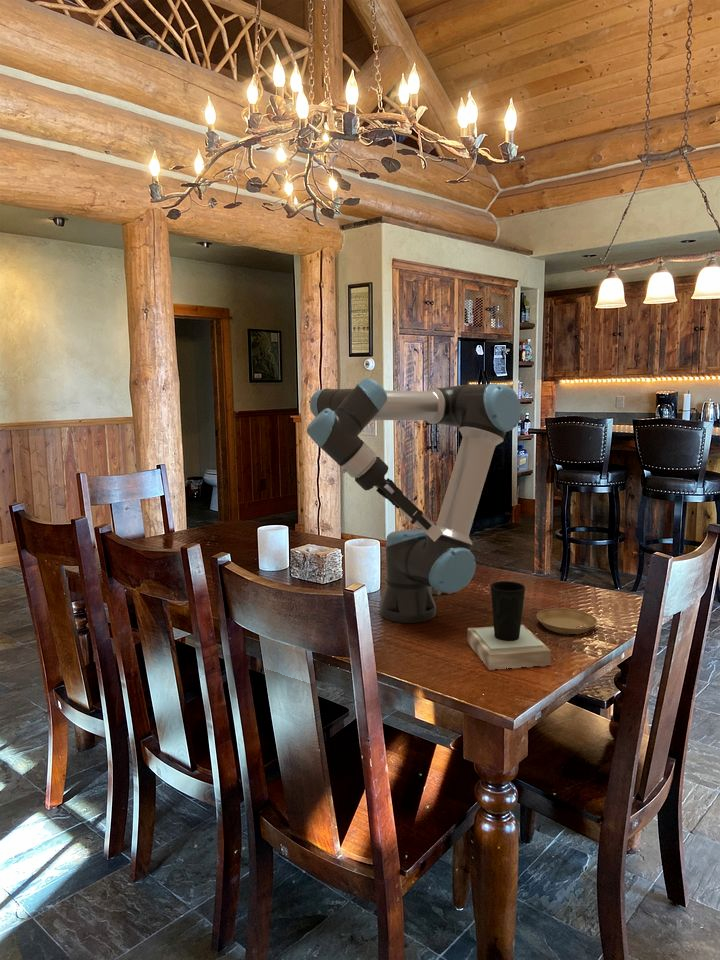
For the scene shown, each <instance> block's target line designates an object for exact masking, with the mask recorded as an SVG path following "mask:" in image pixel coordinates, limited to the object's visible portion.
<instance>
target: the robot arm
mask: <svg viewBox="0 0 720 960" xmlns="http://www.w3.org/2000/svg"><path fill="white" fill-rule="evenodd" d="M309 407H310V411H311V413H312V415H313V416H314V419H312V420H311V422H309V424H308V425H307V427H306V433H307V435H308V436H309V437H310V439H311V440H312V441H313V442H314V443H315V444H316V445H317V446H318V448H321V450H322V451H324V453H325V454H326V455H328V456H329V457H330V458H331V460H333V461H335V463H336V464H337V465H338V466H340V467H341V468H342V469H341V473H342V474H346V473H347V474H348V476H350V478H354V482H356V483H357V485H359V487H360V488H362V489H363V490H364V491H370V490H371V489H374V487H375V488H377V489H376V492H377V493H378V494H379V495H380V496H382V497H383V498H384V499H386V500H387V501H388V502H390V503H391V505H392V506H395V508H396V509H398V510H399V512H400V513H401V514H403V516H404V517H405V518H407V520H408V521H410V523H411V524H412V525H413V526H415V527H416V528H414V529H412V528H411V529H402V530H396V531H392V532H389V533H388V534H387V536H386V538H385V539H386V543H385V556H386V557H385V561H386V562H385V565H386V567H385V568H386V573H385V575H386V579H385V581H386V584H385V585H386V587H385V590H384V593H383V596H382V599H381V601H380V602H381V603H380V604H379V605H380V607H379V614H381V615H380V616H381V617H382V618H384V619H386V620H387V621H390V622H393V623H394V622H395V623H401V624H403V623H404V624H416V623H417V624H418V623H423V622H424V623H425V622H426V621H429V620H432V619H434V618H435V617H436V614H437V609H436V608H437V605H436V603H435V600H434V597H433V594H432V593H431V590H430V587H432V588H434V589H435V590H439V591H444V592H448V593H451V594H452V593H456V592H457V593H458V592H460V591H461V590H462V589H464V588H465V587H467V586H468V585H469V584H470V582H471V581H472V579H473V577H474V575H475V573H476V569H477V568H476V565H477V562H476V561H475V559H476V558H475V555H474V553H472V552H471V551H472V547H473V542H472V540H471V538H470V533H471V529H472V526H473V523H474V519H475V515H476V512H477V509H478V505H479V503H480V499H481V495H482V491H483V490H484V489H483V488H484V485H485V482H486V479H487V475H488V472H489V469H490V466H491V462H492V459H493V455H494V451H495V449H496V447H497V446H498V445H500V444H501V443H503V442H504V441H505V440H504V439H505V437H506V433H507V432H510V431H513V429H514V428H516V427H517V426H518V424H519V422H520V420H521V416H522V405H521V401H520V400H519V395H518V394H517V392H516V391H515V390H514V389H513V388H511V386H509V385H505V384H500V383H489V384H487V383H486V384H483V383H481V384H462V385H461V384H459V385H453V386H447V387H430V388H429V389H427V390H426V391H425V390H424V391H422V390H421V391H420V390H419V391H417V390H416V391H415V390H385V388H384V387H383V386H382V385H381V384H380V383H379V382H377V380H374V379H372V378H368V377H365V378H363V379H362V380H361V381H360V382H359V383H357V384H356V386H355V387H354V388H324V389H319V390H316V391H315V392H314V393H313V394H312V395H311V398H310V401H309ZM371 421H426V422H427V423H428V424H431V425H443V426H450V427H456V428H458V430H459V432H460V434H461V436H462V439H461V442H460V444H459V445H460V446H459V449H458V452H457V454H456V458H455V462H454V465H453V467H452V468H453V469H452V472H451V475H450V478H449V481H448V484H447V488H446V491H445V495H444V498H443V501H442V503H441V508H440V511H439V515H438V518H437V522H436V524H435V523H434V522H432V520H430V518H429V517H428V516H427V515H426V514H425V513H424V512H423V511H422V510H421V509H420V508H418V507H417V505H415V504H414V503H413V502H412V501H411V500H410V499H409V498H408V497H407V496H406V495H405V494H404V493H403V491H402V490H401V489H400V488H399V487H398V486H397V484H396V483H395V482H394V481H393V480H392V479H390V478H389V477H388V478H385V475H387V474H388V471H389V466H388V465H387V464H386V463H385V461H383V459H381V457H379V456H376V452H375V451H374V450H373V449H372V448H371V447H370V446H368V445H367V443H366V442H364V441H363V440H362V439H361V438H360V437H359V435H360V433H362V431H363V430H364V429H365V428H366V426H368V425H369V423H370V422H371Z"/></svg>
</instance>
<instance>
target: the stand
mask: <svg viewBox="0 0 720 960" xmlns="http://www.w3.org/2000/svg"><path fill="white" fill-rule="evenodd" d="M466 638H467V641H466V642H467V644H468V645H469V646H470V647H471V649H472V650H473V651H474V652H475V654H476V655H477V657H478V658H479V659H480V661H481V662H482V661H483V662H482V663H483V664H484V666H485V667H486V669H488V670H489V671H496V670H495V669H498V670H509V669H508V668H512V669H522V668H521V667H527V668H534V667H533V666H541V667H544V666H543V665H551V663H552V662H551V661H552V660H551V659H552V650H551V649H550V648H549V647H548V646H547V645H546V644H545V643H544V642H542V641H541V640H540V639H539V638H538V637H537V636H536V635H535V634H534V633H533V632H531V631H530V630H529V629H528V628H527V626H526V625H524V624H521V627H520V635H519V639H518V640H515V641H503V640H499V639H497V638H495V636H494V626H483V627H468V628H467V637H466ZM506 668H507V669H506Z"/></svg>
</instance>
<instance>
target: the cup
mask: <svg viewBox="0 0 720 960" xmlns="http://www.w3.org/2000/svg"><path fill="white" fill-rule="evenodd" d="M525 593H526V586H525V585H524V584H523V583H520V582H517V581H516V582H515V581H507V580H504V581H503V580H502V581H501V580H500V581H495V582H493V583H491V585H490V596H491V604H492V605H491V608H492V619H493V620H492V621H493V627H494V636H495V638H497V639H499V640H503V641H515V640H518V639H519V635H520V627H521V625H522V617H523V610H524V601H525V595H526V594H525Z"/></svg>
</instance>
